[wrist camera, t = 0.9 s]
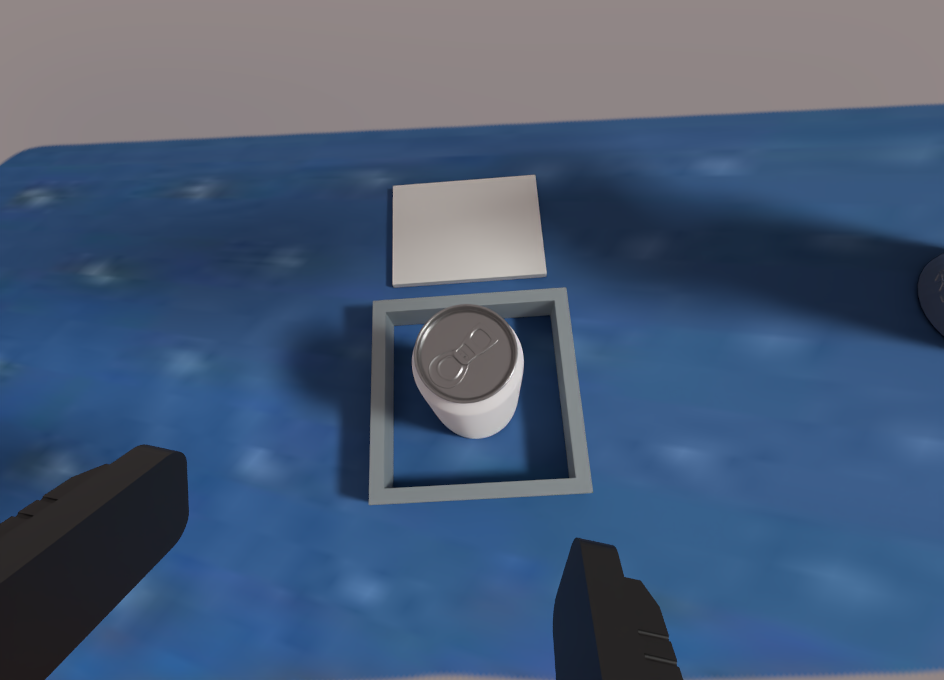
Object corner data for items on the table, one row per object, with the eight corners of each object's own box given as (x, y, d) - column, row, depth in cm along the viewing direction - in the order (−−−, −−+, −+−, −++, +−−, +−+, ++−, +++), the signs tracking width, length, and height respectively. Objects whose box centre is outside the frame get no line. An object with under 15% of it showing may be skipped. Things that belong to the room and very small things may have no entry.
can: (417, 396, 36) (381, 350, 25) (477, 342, 38) (468, 275, 26) (474, 457, 35) (462, 437, 23) (534, 398, 36) (551, 352, 25)
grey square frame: (561, 303, 38) (566, 287, 36) (584, 493, 33) (593, 492, 31) (382, 315, 39) (372, 301, 36) (379, 504, 34) (368, 505, 31)
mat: (534, 179, 42) (535, 174, 42) (545, 276, 39) (546, 273, 39) (394, 190, 43) (392, 185, 42) (394, 287, 40) (392, 284, 39)
